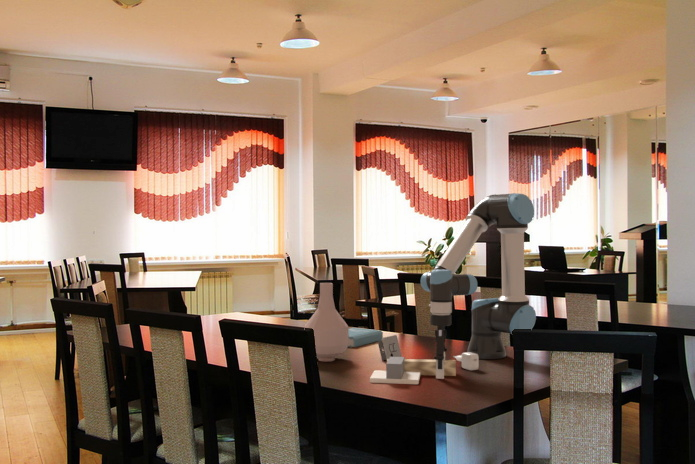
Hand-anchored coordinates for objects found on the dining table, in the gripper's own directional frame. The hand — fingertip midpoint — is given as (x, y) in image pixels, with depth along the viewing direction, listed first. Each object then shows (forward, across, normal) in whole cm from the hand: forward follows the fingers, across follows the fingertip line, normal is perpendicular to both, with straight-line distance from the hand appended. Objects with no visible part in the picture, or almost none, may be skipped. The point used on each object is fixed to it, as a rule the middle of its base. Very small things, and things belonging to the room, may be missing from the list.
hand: (440, 374), depth 226 cm
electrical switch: (0, -24, -21) cm, 32 cm away
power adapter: (0, -13, +9) cm, 16 cm away
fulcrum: (0, +10, -15) cm, 18 cm away
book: (+1, -60, -41) cm, 72 cm away
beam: (0, 0, -7) cm, 7 cm away
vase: (0, -19, -45) cm, 49 cm away
